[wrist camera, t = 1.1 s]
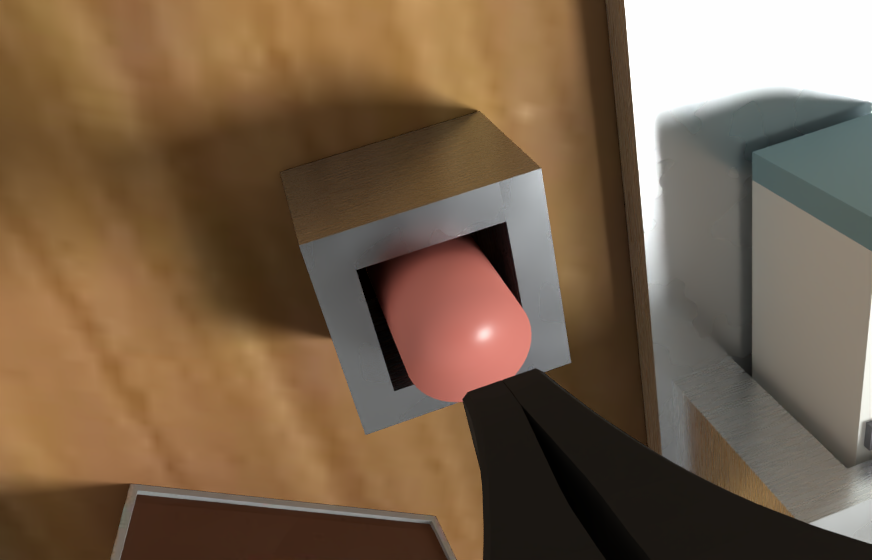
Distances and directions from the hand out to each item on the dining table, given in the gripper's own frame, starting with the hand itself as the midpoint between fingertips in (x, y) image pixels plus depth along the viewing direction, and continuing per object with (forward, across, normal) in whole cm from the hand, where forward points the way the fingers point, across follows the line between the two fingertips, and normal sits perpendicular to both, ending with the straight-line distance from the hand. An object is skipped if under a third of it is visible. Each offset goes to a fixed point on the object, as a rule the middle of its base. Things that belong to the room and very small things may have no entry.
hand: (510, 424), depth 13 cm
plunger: (+6, 0, 0) cm, 6 cm away
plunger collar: (+8, 0, 0) cm, 8 cm away
